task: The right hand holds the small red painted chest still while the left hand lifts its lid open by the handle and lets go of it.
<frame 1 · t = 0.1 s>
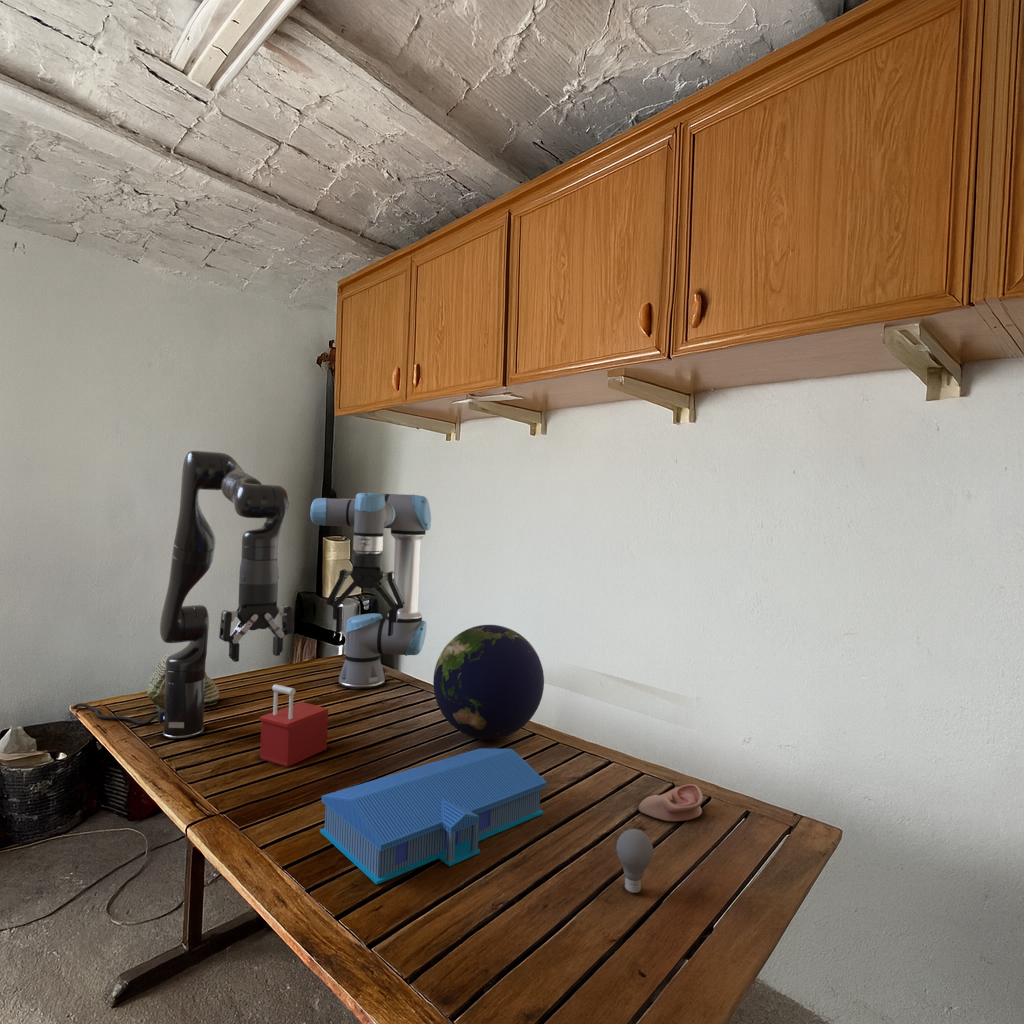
left hand: (256, 657, 132), 29 cm above the table, tool pointing down, fingers open, 8 cm apart
right hand: (364, 633, 165), 28 cm above the table, tool pointing down, fingers open, 13 cm apart
lid: (295, 699, 155), point 13 cm above the table, hinge at 0.0°
model building: (441, 826, 124), on the table
anatomical model: (670, 809, 135), on the table
globe: (486, 736, 172), on the table
fossil: (183, 706, 185), on the table
light bulb: (632, 891, 106), on the table
chest: (294, 753, 155), on the table
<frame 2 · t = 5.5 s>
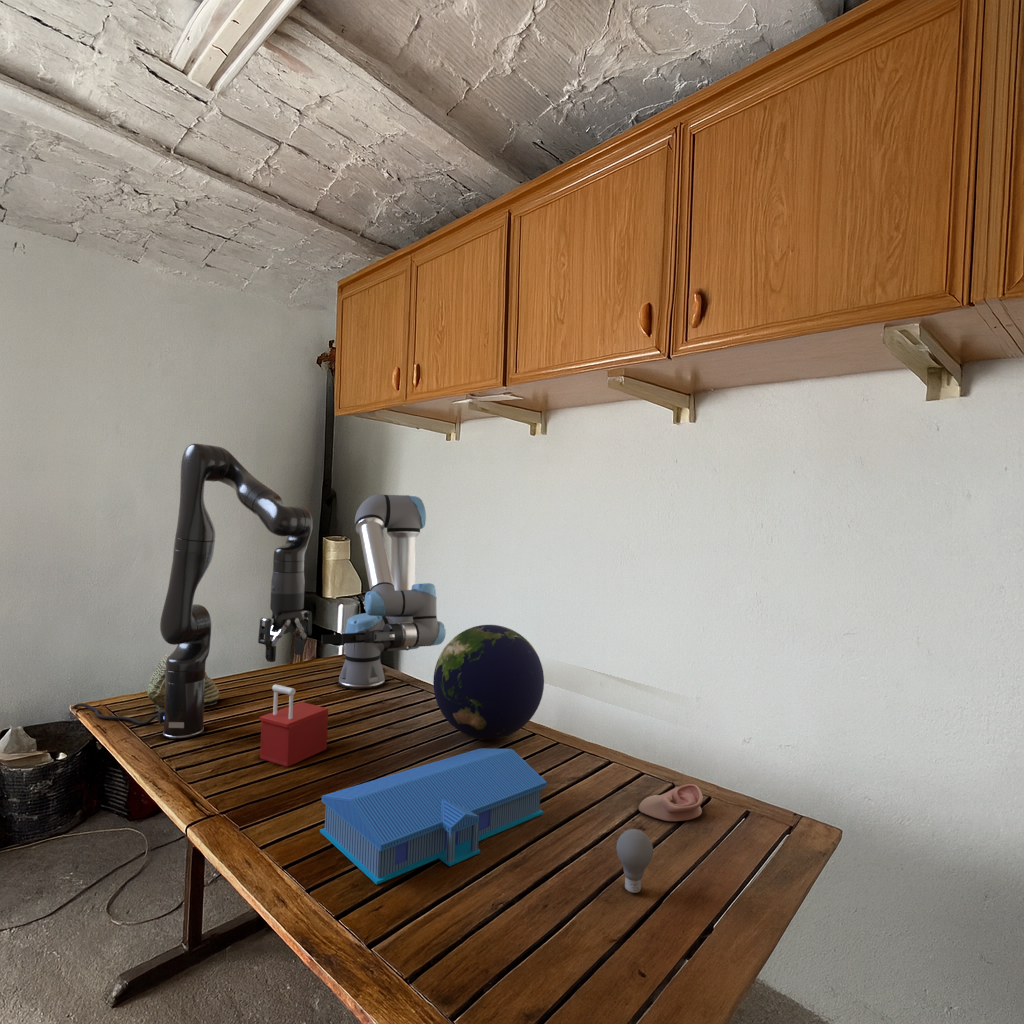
left hand: (285, 657, 151), 24 cm above the table, tool pointing down, fingers open, 8 cm apart
right hand: (331, 639, 179), 23 cm above the table, tool horizontal, fingers open, 13 cm apart
nothing on the table moved.
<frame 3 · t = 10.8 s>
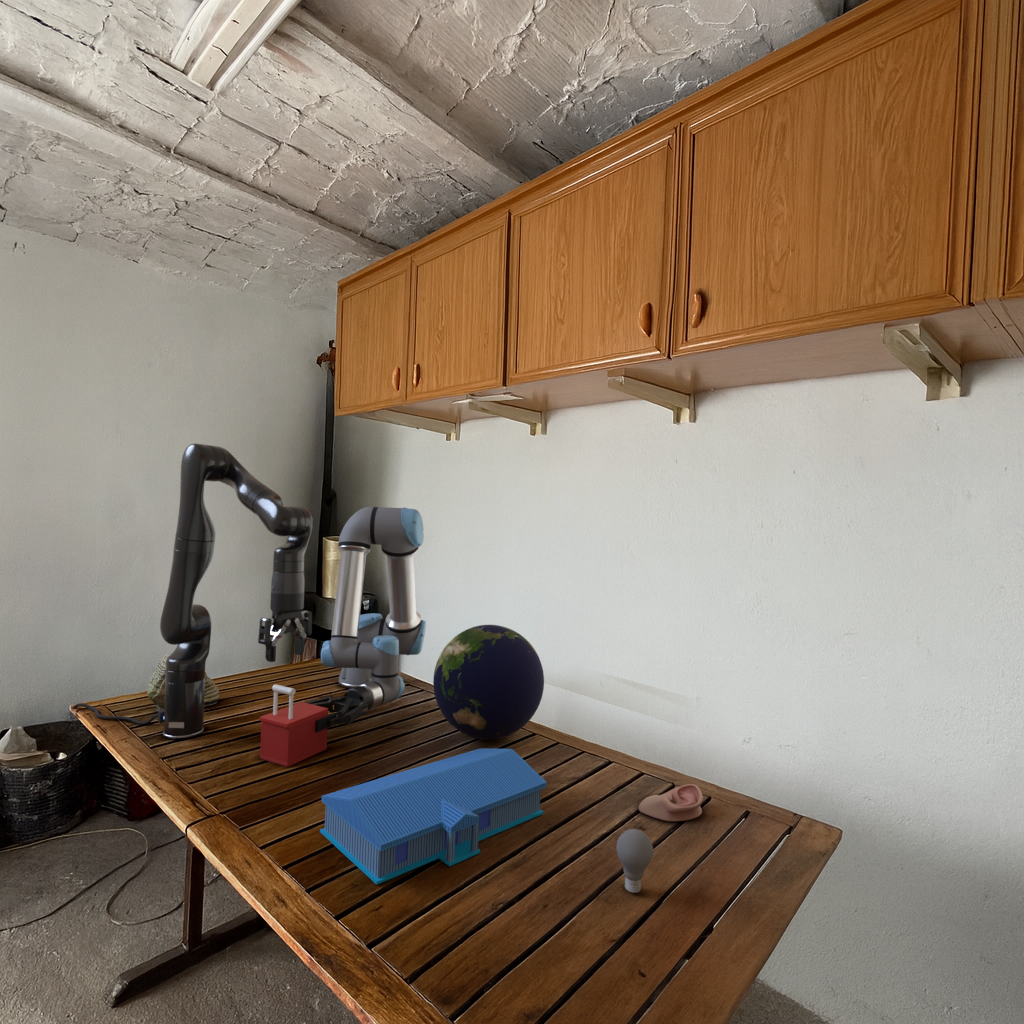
left hand: (285, 657, 151), 24 cm above the table, tool pointing down, fingers open, 8 cm apart
right hand: (301, 722, 157), 7 cm above the table, tool horizontal, fingers closed on chest, 9 cm apart
chest: (294, 753, 155), on the table, touching right hand
everything else where it was.
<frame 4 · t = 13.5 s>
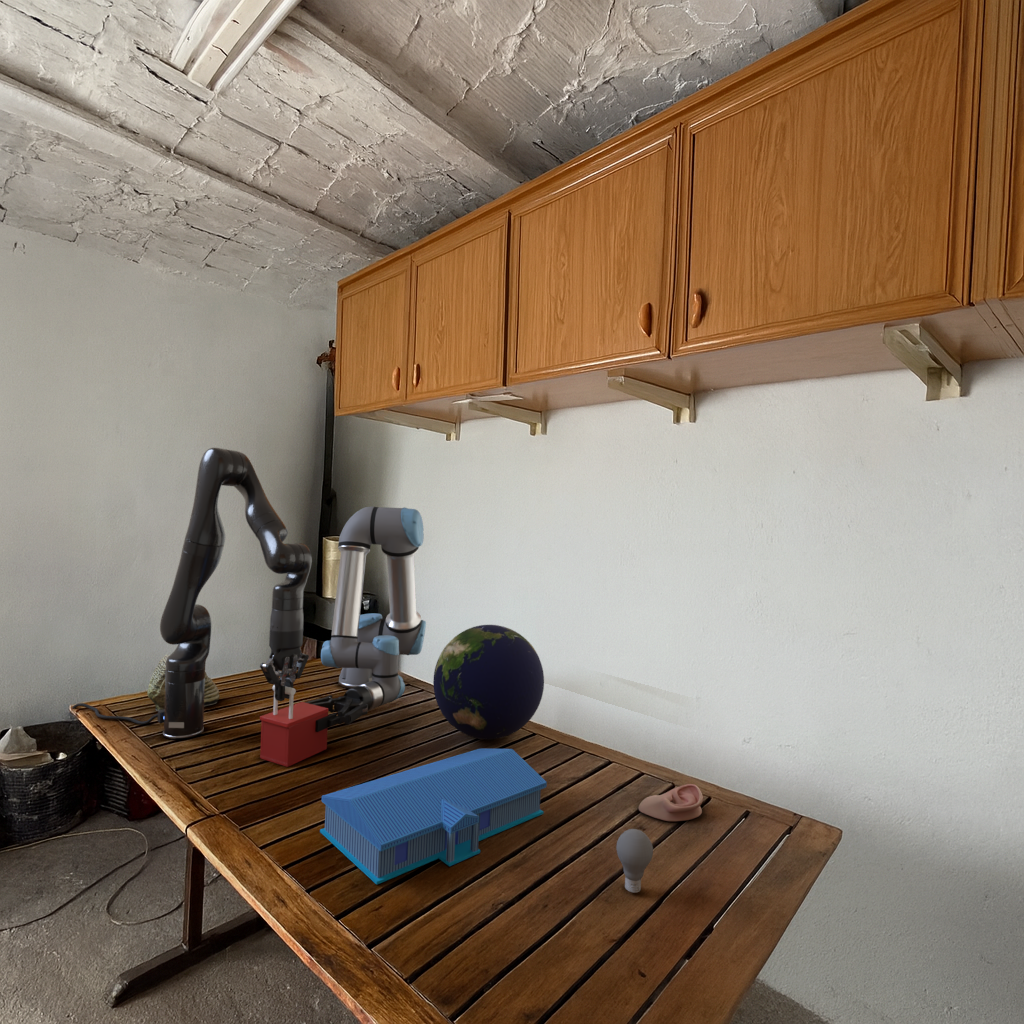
left hand: (283, 698, 151), 15 cm above the table, tool pointing down, fingers closed on lid
right hand: (301, 722, 157), 7 cm above the table, tool horizontal, fingers closed on chest, 9 cm apart
lid: (295, 699, 155), point 14 cm above the table, hinge at 0.2°, touching left hand
chest: (294, 753, 155), on the table, touching right hand
everything else where it was.
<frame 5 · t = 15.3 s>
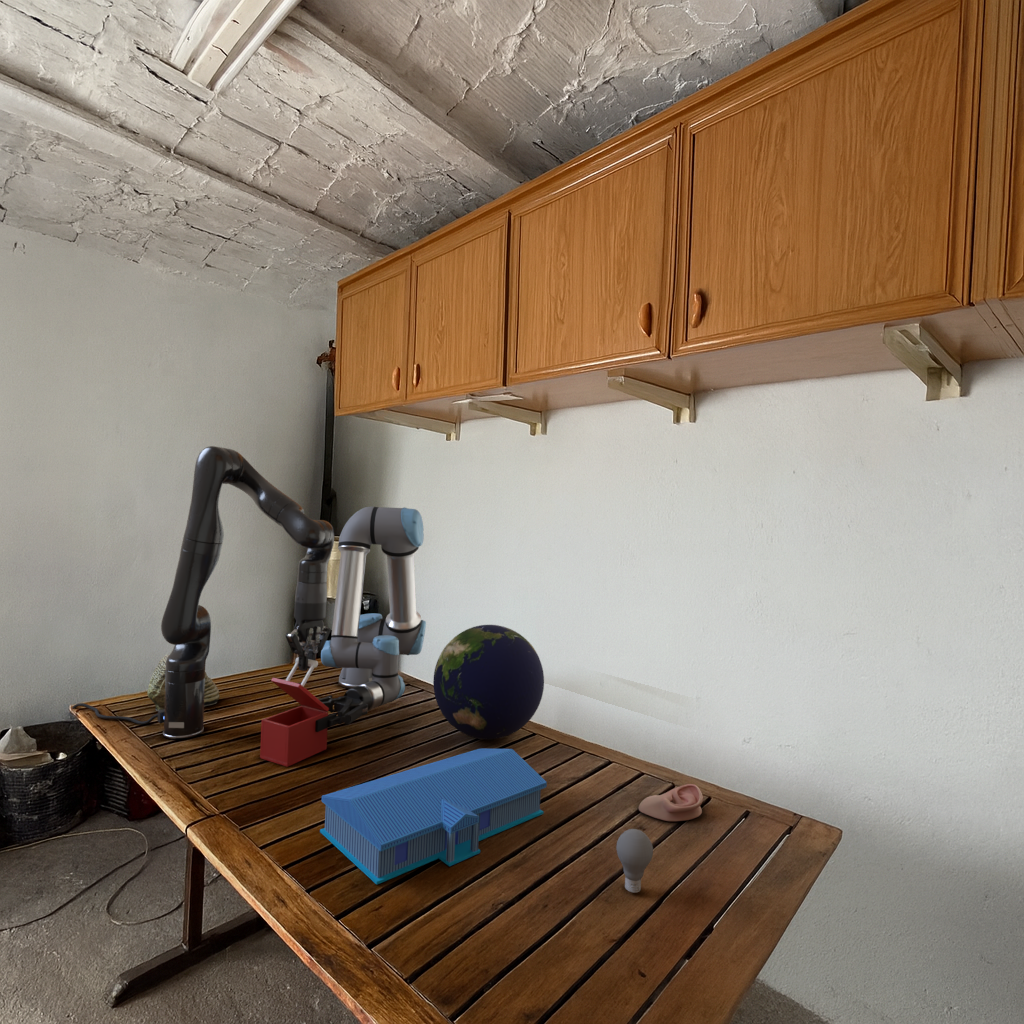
left hand: (306, 669, 158), 20 cm above the table, tool pointing down, fingers closed on lid
right hand: (301, 722, 157), 7 cm above the table, tool horizontal, fingers closed on chest, 9 cm apart
lid: (308, 681, 158), point 17 cm above the table, hinge at 40.6°, touching left hand
chest: (294, 753, 155), on the table, touching right hand
everything else where it was.
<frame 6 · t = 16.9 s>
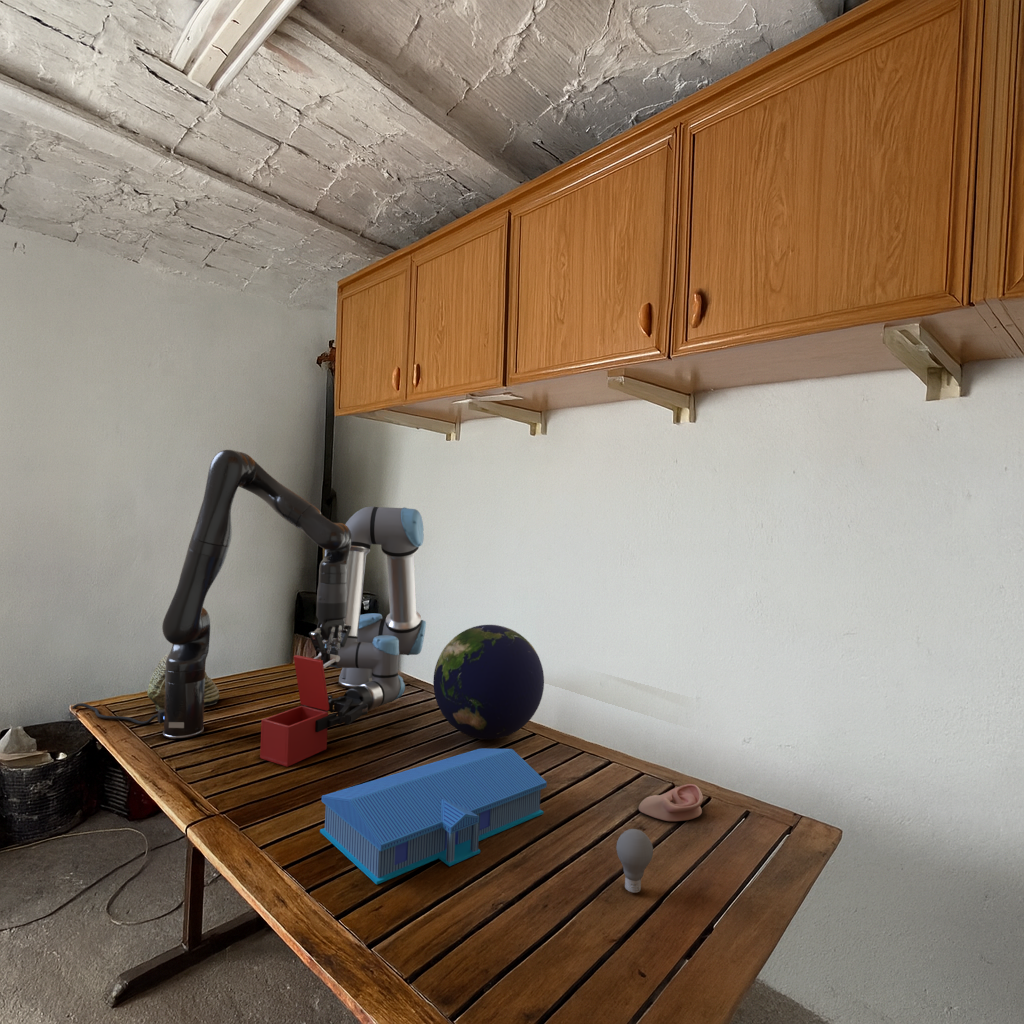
left hand: (329, 665, 165), 19 cm above the table, tool pointing down, fingers closed
right hand: (301, 722, 157), 7 cm above the table, tool horizontal, fingers closed on chest, 9 cm apart
lid: (321, 676, 162), point 17 cm above the table, hinge at 76.7°
chest: (294, 753, 155), on the table, touching right hand
everything else where it was.
when the right hand's fingers open (7 cm above the table, at t = 21.2 s): chest stays where it is, on the table.
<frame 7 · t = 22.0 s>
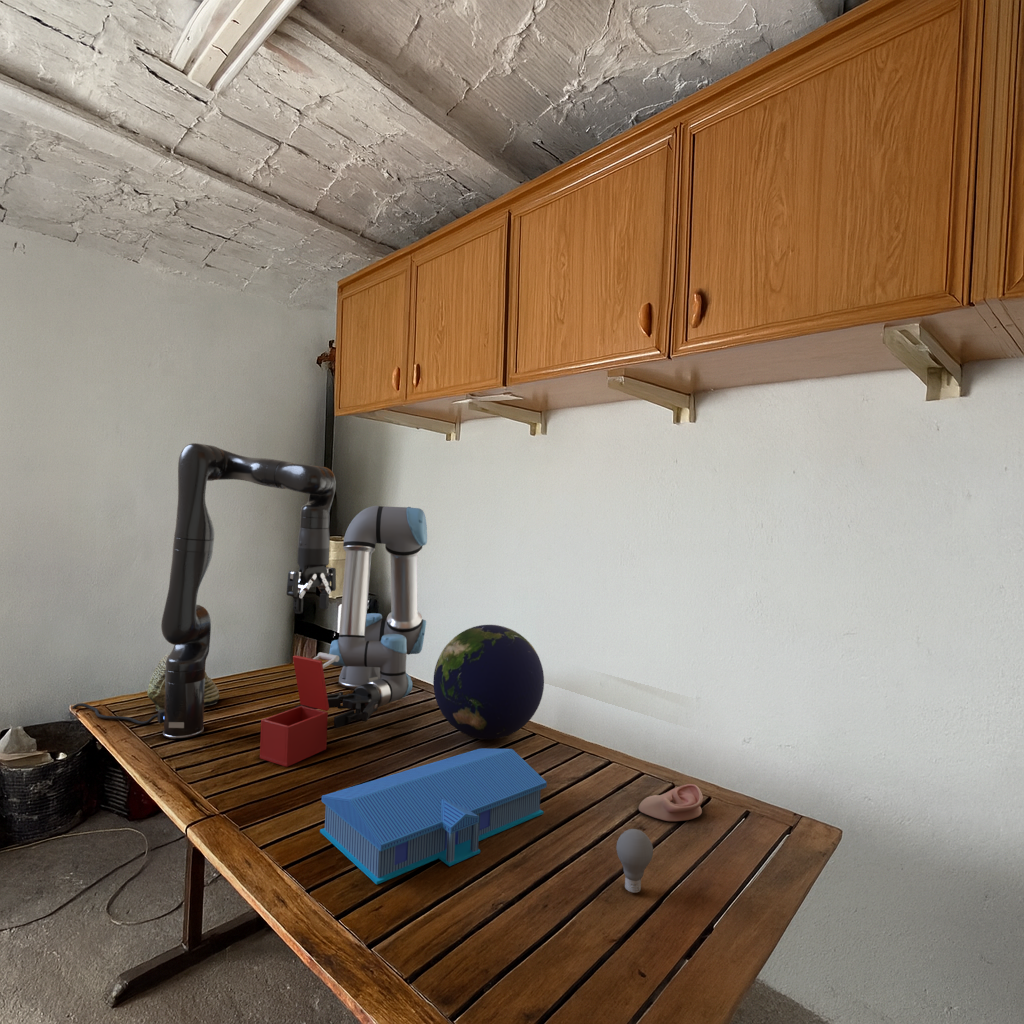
left hand: (311, 610, 158), 35 cm above the table, tool pointing down, fingers open, 8 cm apart
right hand: (314, 717, 161), 7 cm above the table, tool horizontal, fingers open, 13 cm apart
lid: (321, 676, 162), point 17 cm above the table, hinge at 76.0°
chest: (293, 753, 155), on the table
everything else where it was.
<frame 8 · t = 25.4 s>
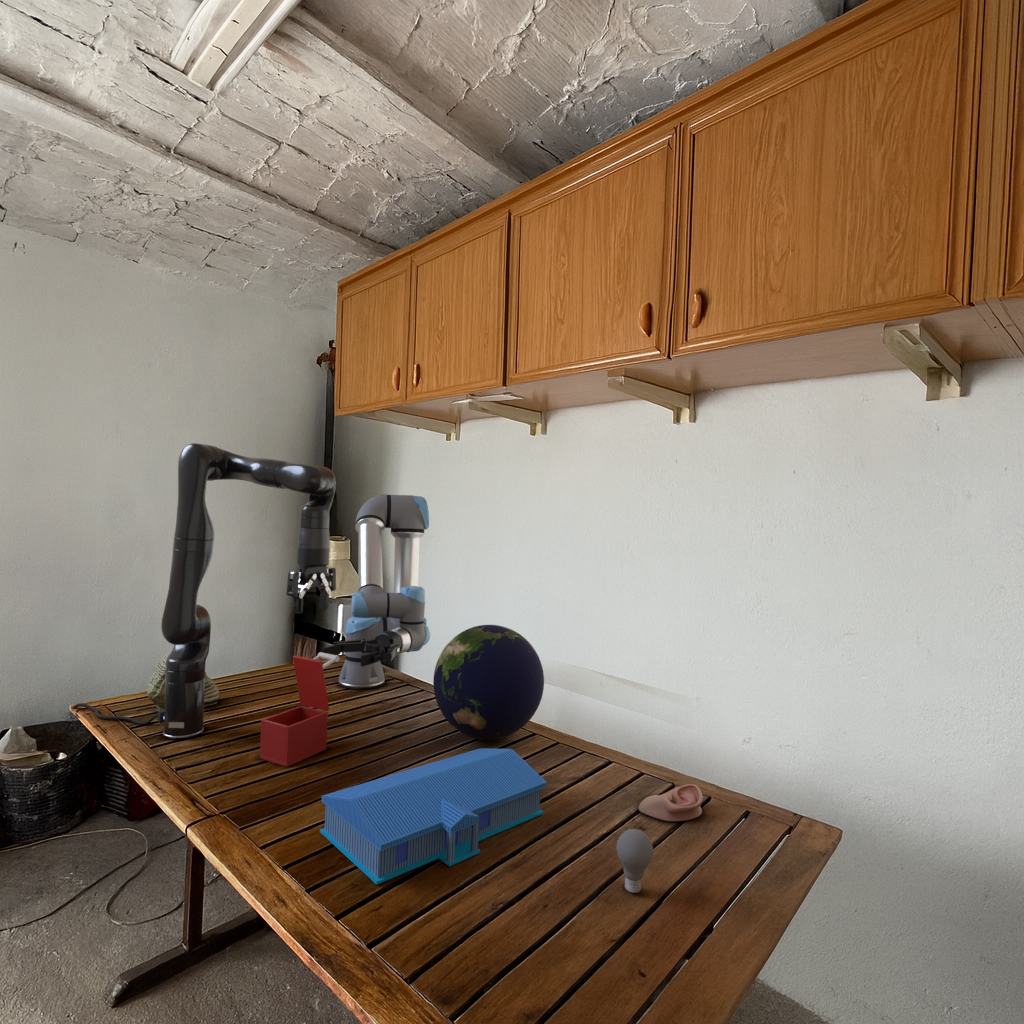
left hand: (311, 610, 158), 35 cm above the table, tool pointing down, fingers open, 8 cm apart
right hand: (341, 657, 169), 21 cm above the table, tool horizontal, fingers open, 13 cm apart
nothing on the table moved.
at the end: lid at +76° (first picture: +0°); the left hand is holding nothing; the right hand is holding nothing; chest tilted 0°; chest never tilted more than 1° during the clip; chest moved 0.1 cm from its start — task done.
